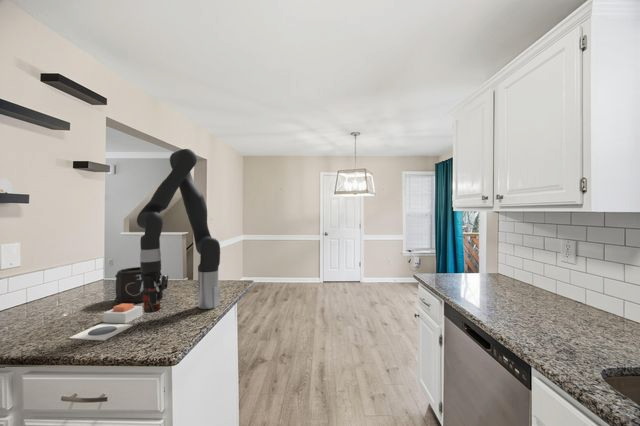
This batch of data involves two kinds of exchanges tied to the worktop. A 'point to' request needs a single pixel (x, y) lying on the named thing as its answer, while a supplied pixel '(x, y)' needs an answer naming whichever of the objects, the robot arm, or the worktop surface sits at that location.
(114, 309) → the button
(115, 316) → the button housing
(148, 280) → the deodorant
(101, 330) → the white flat square slab
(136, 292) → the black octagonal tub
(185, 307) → the worktop surface
